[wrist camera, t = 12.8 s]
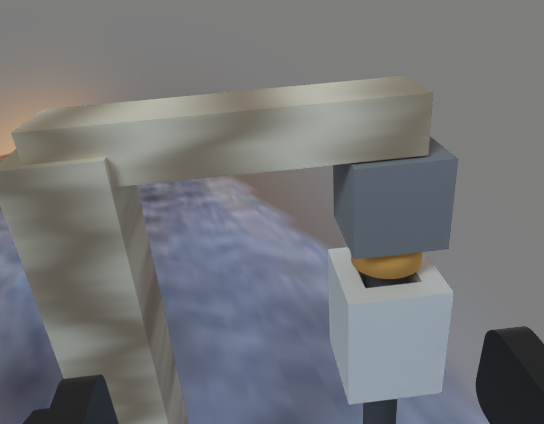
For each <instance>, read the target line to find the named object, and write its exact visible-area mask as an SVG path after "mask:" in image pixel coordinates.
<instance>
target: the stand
mask: <svg viewBox="0 0 544 424" xmlns="http://www.w3.org/2000/svg"><path fill="white" fill-rule="evenodd" d="M432 101H433V92H431V91H429V90H427V89H426V88H424V87H422V86H420V85H419V84H417V83H415V82H413V81H412V80H410V79H408V78H406V77H405V76H398V77H387V78H377V79H366V80H355V81H345V82H333V83H323V84H312V85H301V86H291V87H281V88H270V89H259V90H249V91H238V92H227V93H216V94H206V95H195V96H184V97H173V98H163V99H152V100H141V101H130V102H121V103H109V104H99V105H88V106H77V107H67V108H56V109H45V110H41V111H40V112H39V113H37V114H36V115H35V116H33V117H32V118H31V119H29V120H28V121H27V122H25V123H24V124H23V125H21V126H20V127H19V128H17V129H16V130H15V131H13V132H12V133H11V134H12V137H13V140H14V143H15V146H16V149H15V150H14V151H13V152H12V153H11V154H10V155H8V156H7V157H6V158H5V159H4V160H2V161H1V162H0V205H1V208H2V211H3V213H4V216H5V219H6V222H7V224H8V227H9V230H10V233H11V235H12V238H13V241H14V244H15V246H16V249H17V252H18V255H19V257H20V260H21V263H22V266H23V268H24V271H25V274H26V277H27V279H28V282H29V285H30V288H31V290H32V293H33V296H34V299H35V301H36V304H37V307H38V310H39V312H40V315H41V318H42V321H43V323H44V326H45V329H46V331H47V334H48V337H49V340H50V342H51V345H52V348H53V351H54V353H55V356H56V359H57V362H58V364H59V367H60V370H61V373H62V375H63V378H64V379H66V378H75V377H83V376H92V375H103V376H104V378H105V380H106V384H107V387H108V390H109V393H110V397H111V400H112V403H113V407H114V410H115V413H116V417H117V420H118V423H119V424H189V422H188V418H187V413H186V409H185V404H184V399H183V395H182V390H181V386H180V381H179V376H178V372H177V367H176V363H175V358H174V353H173V349H172V344H171V340H170V335H169V330H168V326H167V321H166V317H165V312H164V307H163V303H162V298H161V294H160V289H159V284H158V280H157V275H156V271H155V266H154V261H153V257H152V252H151V248H150V243H149V238H148V234H147V229H146V225H145V220H144V215H143V211H142V206H141V202H140V197H139V192H138V188H137V185H141V184H151V183H161V182H171V181H180V180H190V179H200V178H210V177H220V176H230V175H239V174H249V173H259V172H269V171H278V170H288V169H298V168H308V167H317V166H328V165H338V164H347V163H357V162H367V161H377V160H387V159H397V158H406V157H416V156H426V155H428V153H429V140H430V127H431V114H432Z"/></svg>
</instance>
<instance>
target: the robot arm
mask: <svg viewBox="0 0 544 424" xmlns="http://www.w3.org/2000/svg"><path fill="white" fill-rule="evenodd" d="M476 393H477V397H478V401H479V404H480V406H481V409H482V411H483V413H484V414H485V416H486V418H487V419H488V421H489V423H490V424H544V344H543V343H542V341H541V340H540V339H539V338H538V337H537V336H536V334H535V333H534V332H533V331H532V330H531V329H529V328H528V327H525V326H523V327H514V328H506V329H497V330H490V331H488V332H487V333H486V335H485V339H484V344H483V348H482V353H481V359H480V363H479V368H478V373H477V378H476ZM23 424H119V423H118V420H117V417H116V413H115V410H114V407H113V403H112V400H111V397H110V393H109V390H108V387H107V384H106V380H105V378H104V376H103V375H92V376H83V377H75V378H66V379H63V380H61V382H60V383H59V385H58V387H57V390H56V393H55V395H54V398H53V401H52V404H51V406H50V408H49V409H40V410H34V411H33V412H32V413H31V414H30V416H29V417H28V418H27V419H26V420H25V422H24V423H23Z"/></svg>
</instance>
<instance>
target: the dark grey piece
mask: <svg viewBox="0 0 544 424" xmlns="http://www.w3.org/2000/svg"><path fill="white" fill-rule="evenodd" d="M457 165H458V158H456V157H455V156H454V155H453V154H452V153H450V152H449V151H448V150H446V149H445V148H444V147H443V146H441V145H440V144H439V143H438V142H436V141H435V140H434V139H433V138H431V137H430V140H429V153H428V155H426V156H416V157H406V158H397V159H387V160H377V161H367V162H357V163H347V164H338V165H333V180H334V217H335V219H336V221H337V223H338V226H339V228H340V230H341V232H342V234H343V237H344V239H345V241H346V243H347V245H348V248H349V250H350V252H351V262H352V264H353V266H354V267H355V268H356V269H357V270H359V271H360V272H362V273H364V274H366V287H365V288H373V287H381V286H390V285H399V284H404V280H405V277H407V276H410V275H412V274H414V273H415V272H416V271H418V270H419V268H420V266H421V263H422V252H425V251H434V250H443V249H448V248H449V239H450V230H451V220H452V211H453V202H454V193H455V184H456V174H457ZM396 410H397V399H390V400H382V401H374V402H366V403H363V424H396Z"/></svg>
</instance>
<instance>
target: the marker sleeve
mask: <svg viewBox="0 0 544 424" xmlns="http://www.w3.org/2000/svg"><path fill="white" fill-rule="evenodd" d="M328 285H329V326H330V342H331V346H332V349H333V352H334V356H335V359H336V363H337V366H338V370H339V373H340V377H341V380H342V384H343V387H344V391H345V394H346V397H347V401H348V404H349V405H350V404H358V403H366V402H374V401H382V400H390V399H398V398H406V397H414V396H422V395H430V394H438V393H442V387H443V379H444V370H445V362H446V353H447V345H448V336H449V328H450V320H451V311H452V302H453V295H454V292H453V291H452V289H451V288H450V287H449V285H448V284H447V283H446V281H445V280H444V278H443V277H442V275H441V274H440V273H439V271H438V270H437V269H436V267H435V266H434V264H433V263H432V262H431V260H430V259H429V257H428V256H427V255H426V253H425V252H422V263H421V266H420V268H419V270H418V271H416V272H415V273H414V274H412V275H410V276H407V277H405V280H404V284H399V285H390V286H381V287H373V288H365V287H366V274H364V273H362V272H360V271H359V270H357V269H356V268H355V267H354V266H353V264H352V262H351V252H350V250H349V248H348V247H345V248H336V249H328Z"/></svg>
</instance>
